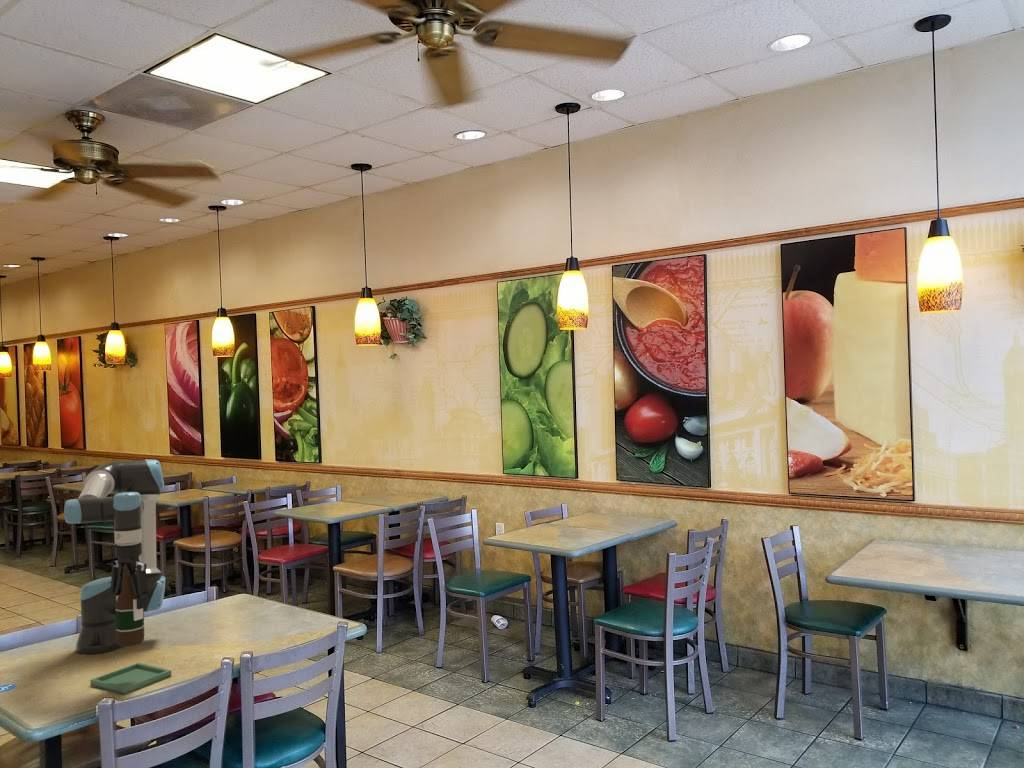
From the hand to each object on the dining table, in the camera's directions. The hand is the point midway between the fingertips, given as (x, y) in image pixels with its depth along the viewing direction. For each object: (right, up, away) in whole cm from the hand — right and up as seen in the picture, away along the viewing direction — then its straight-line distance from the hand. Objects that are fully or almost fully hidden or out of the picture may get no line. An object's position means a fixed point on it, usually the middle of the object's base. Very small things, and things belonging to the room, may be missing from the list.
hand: (130, 617), depth 238 cm
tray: (0, -19, 0) cm, 19 cm away
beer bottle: (0, -8, 0) cm, 8 cm away
